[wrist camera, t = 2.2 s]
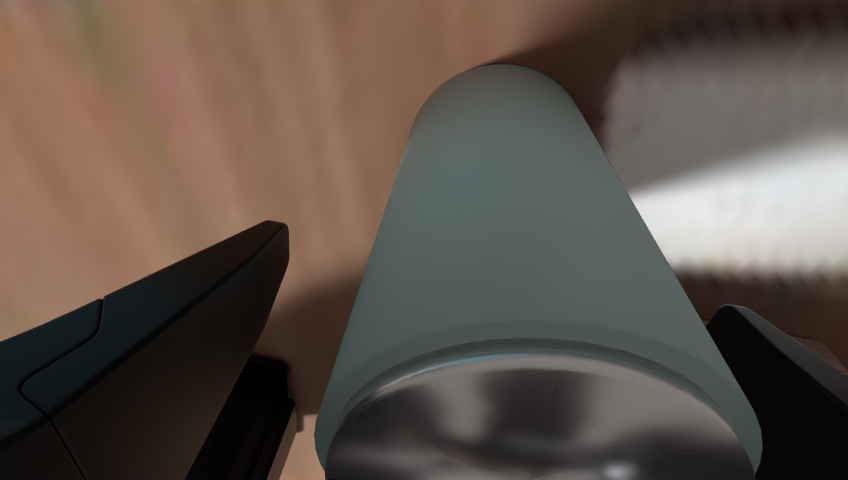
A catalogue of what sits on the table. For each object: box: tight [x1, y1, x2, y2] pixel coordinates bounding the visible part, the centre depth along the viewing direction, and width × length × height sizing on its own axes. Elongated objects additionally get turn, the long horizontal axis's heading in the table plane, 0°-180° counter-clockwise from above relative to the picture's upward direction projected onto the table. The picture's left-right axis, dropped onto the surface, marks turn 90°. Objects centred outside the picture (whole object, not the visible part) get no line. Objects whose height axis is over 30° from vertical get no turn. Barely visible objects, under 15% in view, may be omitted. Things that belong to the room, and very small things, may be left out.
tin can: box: [314, 64, 763, 480], centre depth 10 cm, size 6×6×10 cm
